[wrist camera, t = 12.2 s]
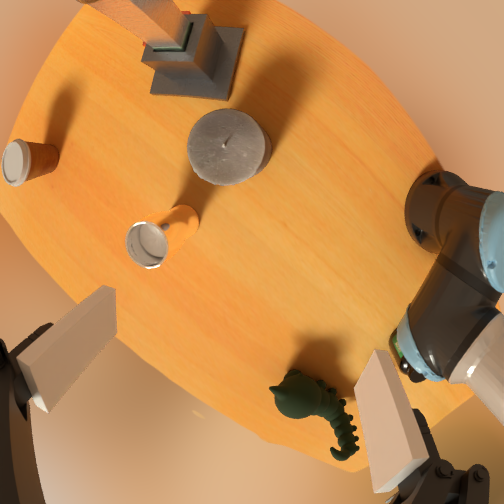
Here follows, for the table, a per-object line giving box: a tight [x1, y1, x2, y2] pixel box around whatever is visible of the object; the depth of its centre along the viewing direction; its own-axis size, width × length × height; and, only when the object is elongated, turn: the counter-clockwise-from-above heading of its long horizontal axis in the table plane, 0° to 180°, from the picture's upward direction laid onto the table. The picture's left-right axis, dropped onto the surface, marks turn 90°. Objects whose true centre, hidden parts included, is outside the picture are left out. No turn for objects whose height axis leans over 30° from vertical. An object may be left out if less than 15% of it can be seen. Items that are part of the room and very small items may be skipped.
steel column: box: [77, 0, 193, 52], centre depth 22 cm, size 6×6×24 cm
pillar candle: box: [187, 109, 272, 186], centre depth 38 cm, size 10×10×15 cm
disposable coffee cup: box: [2, 139, 59, 187], centre depth 43 cm, size 10×10×12 cm
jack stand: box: [141, 11, 245, 101], centre depth 35 cm, size 14×14×12 cm
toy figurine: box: [269, 370, 360, 461], centre depth 50 cm, size 9×19×25 cm
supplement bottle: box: [389, 329, 427, 383], centre depth 47 cm, size 7×7×12 cm
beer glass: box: [125, 205, 199, 268], centre depth 43 cm, size 7×7×15 cm
